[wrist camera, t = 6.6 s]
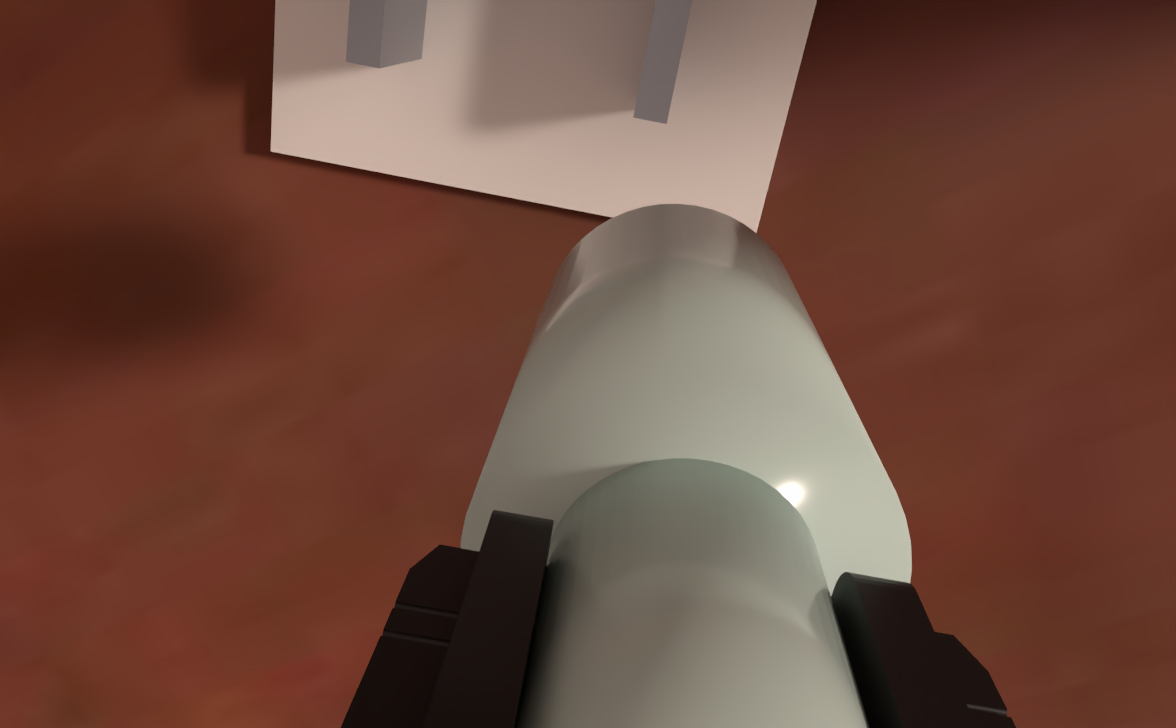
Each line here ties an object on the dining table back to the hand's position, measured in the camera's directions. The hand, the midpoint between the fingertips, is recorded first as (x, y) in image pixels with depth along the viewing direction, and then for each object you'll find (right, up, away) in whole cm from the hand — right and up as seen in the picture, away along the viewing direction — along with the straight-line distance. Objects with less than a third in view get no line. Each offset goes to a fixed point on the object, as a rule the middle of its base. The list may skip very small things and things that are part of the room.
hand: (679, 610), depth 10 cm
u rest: (-2, +17, +19) cm, 26 cm away
